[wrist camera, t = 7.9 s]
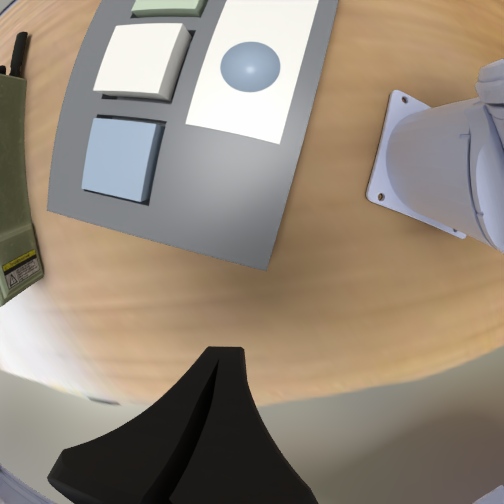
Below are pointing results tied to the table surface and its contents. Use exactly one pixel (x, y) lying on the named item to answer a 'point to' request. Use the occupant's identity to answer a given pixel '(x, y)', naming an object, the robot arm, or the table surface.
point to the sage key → (169, 8)
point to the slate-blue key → (122, 158)
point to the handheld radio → (15, 186)
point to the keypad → (204, 126)
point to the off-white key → (143, 60)
